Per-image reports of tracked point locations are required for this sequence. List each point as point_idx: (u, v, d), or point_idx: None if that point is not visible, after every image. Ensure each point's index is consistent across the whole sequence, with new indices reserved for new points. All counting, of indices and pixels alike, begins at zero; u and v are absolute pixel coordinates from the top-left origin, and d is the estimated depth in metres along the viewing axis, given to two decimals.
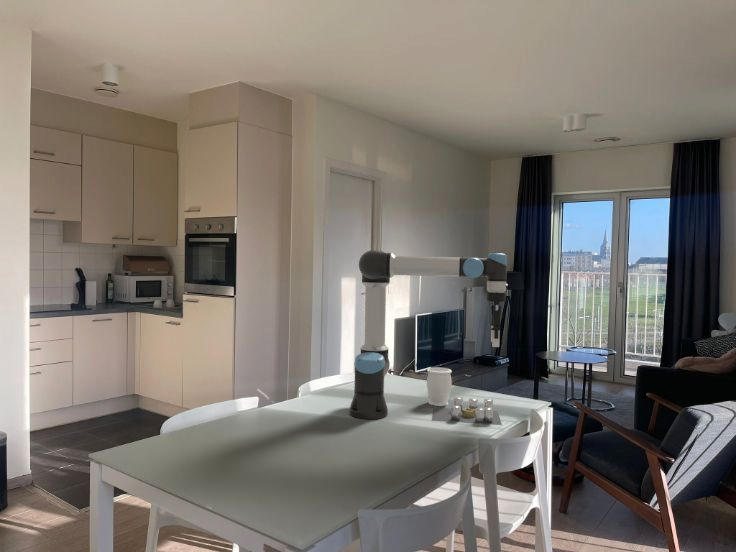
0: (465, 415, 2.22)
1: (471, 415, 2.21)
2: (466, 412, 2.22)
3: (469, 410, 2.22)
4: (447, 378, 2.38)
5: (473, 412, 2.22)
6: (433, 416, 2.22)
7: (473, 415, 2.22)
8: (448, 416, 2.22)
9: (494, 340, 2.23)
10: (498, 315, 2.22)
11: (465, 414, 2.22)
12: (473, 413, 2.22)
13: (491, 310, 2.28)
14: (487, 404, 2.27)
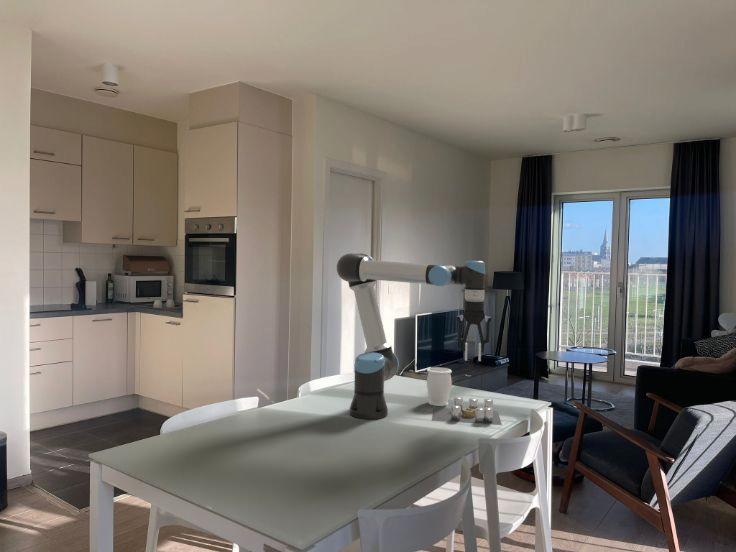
0: (465, 415, 2.22)
1: (471, 415, 2.21)
2: (466, 412, 2.22)
3: (469, 410, 2.22)
4: (447, 378, 2.38)
5: (473, 412, 2.22)
6: (433, 416, 2.22)
7: (473, 415, 2.22)
8: (448, 416, 2.22)
9: None
10: (458, 327, 2.22)
11: (465, 414, 2.22)
12: (473, 413, 2.22)
13: None
14: (487, 404, 2.27)
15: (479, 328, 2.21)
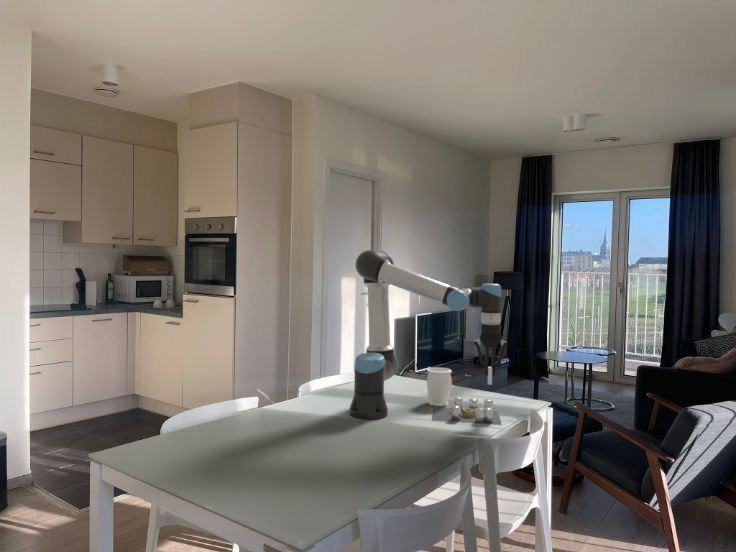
0: (465, 415, 2.22)
1: (471, 415, 2.21)
2: (466, 412, 2.22)
3: (469, 410, 2.22)
4: (447, 378, 2.38)
5: (473, 412, 2.22)
6: (433, 416, 2.22)
7: (473, 415, 2.22)
8: (448, 416, 2.22)
9: None
10: None
11: (465, 414, 2.22)
12: (473, 413, 2.22)
13: None
14: (487, 404, 2.27)
15: (493, 351, 2.20)
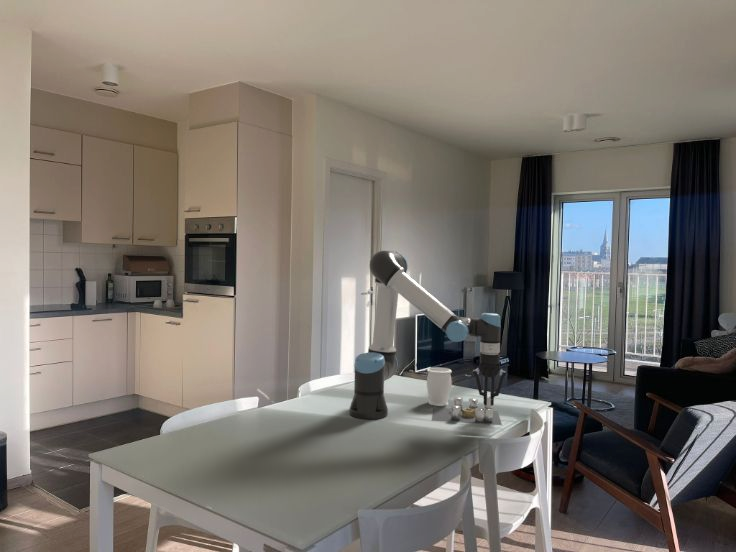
0: (465, 415, 2.22)
1: (471, 415, 2.21)
2: (466, 412, 2.22)
3: (469, 410, 2.22)
4: (447, 378, 2.38)
5: (473, 412, 2.22)
6: (433, 416, 2.22)
7: (473, 415, 2.22)
8: (448, 416, 2.22)
9: (486, 406, 2.23)
10: None
11: (465, 414, 2.22)
12: (473, 413, 2.22)
13: None
14: None
15: (492, 381, 2.21)
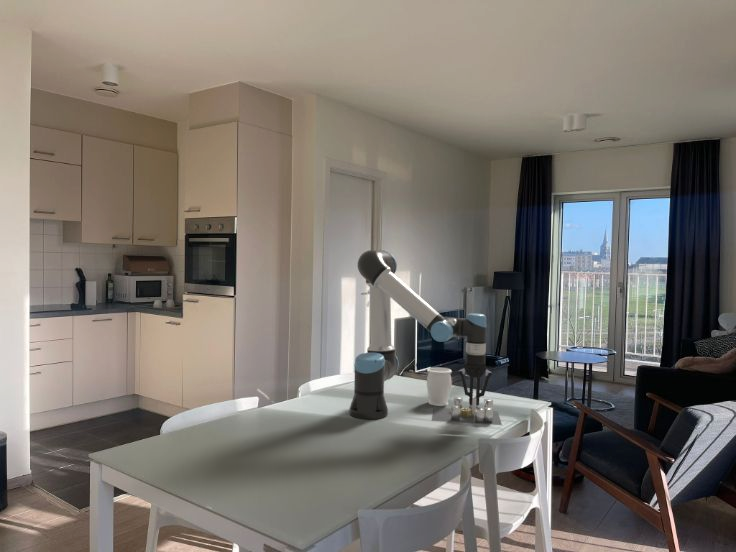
0: (462, 415, 2.22)
1: (468, 415, 2.22)
2: (463, 412, 2.22)
3: (466, 410, 2.23)
4: (447, 378, 2.38)
5: (470, 412, 2.22)
6: (433, 416, 2.22)
7: (470, 415, 2.22)
8: (448, 416, 2.22)
9: None
10: (462, 381, 2.23)
11: (462, 414, 2.22)
12: (470, 413, 2.22)
13: None
14: (487, 404, 2.27)
15: (478, 381, 2.21)
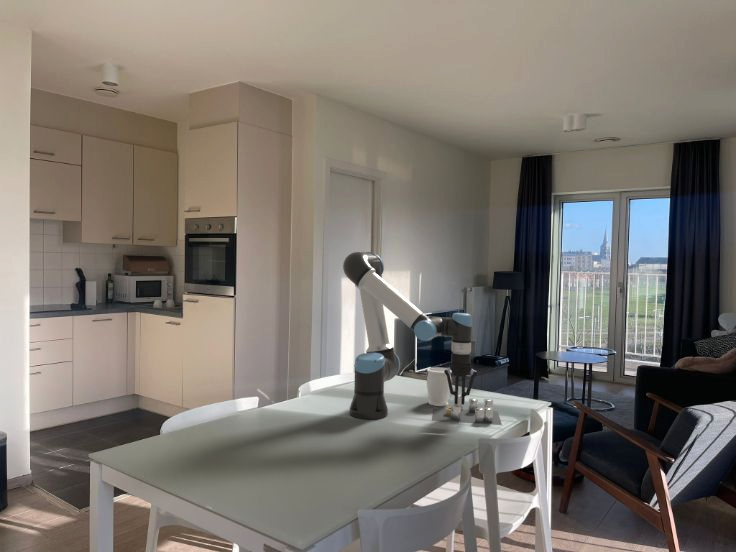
0: (447, 413, 2.24)
1: None
2: (448, 410, 2.23)
3: None
4: None
5: None
6: (433, 416, 2.22)
7: None
8: (448, 416, 2.22)
9: None
10: None
11: (447, 412, 2.24)
12: None
13: None
14: (487, 404, 2.27)
15: (463, 380, 2.22)
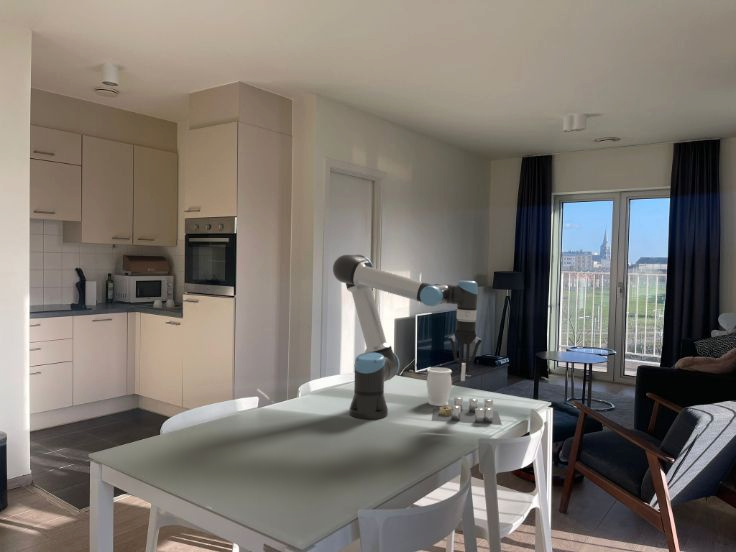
0: (441, 413, 2.24)
1: (446, 413, 2.23)
2: (442, 410, 2.24)
3: (445, 408, 2.24)
4: (447, 378, 2.38)
5: (449, 410, 2.23)
6: (433, 416, 2.22)
7: (449, 413, 2.23)
8: (448, 416, 2.22)
9: None
10: (452, 348, 2.23)
11: (441, 412, 2.24)
12: (449, 411, 2.23)
13: None
14: (487, 404, 2.27)
15: (467, 348, 2.22)
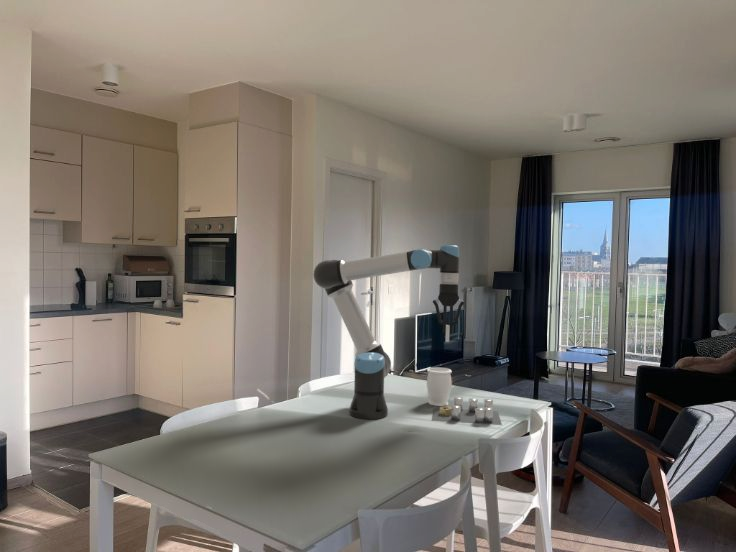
0: (441, 413, 2.24)
1: (446, 413, 2.23)
2: (442, 410, 2.24)
3: (445, 408, 2.24)
4: (447, 378, 2.38)
5: (449, 410, 2.23)
6: (433, 416, 2.22)
7: (449, 413, 2.23)
8: (448, 416, 2.22)
9: None
10: (436, 310, 2.31)
11: (441, 412, 2.24)
12: (449, 411, 2.23)
13: None
14: (487, 404, 2.27)
15: (451, 310, 2.30)
